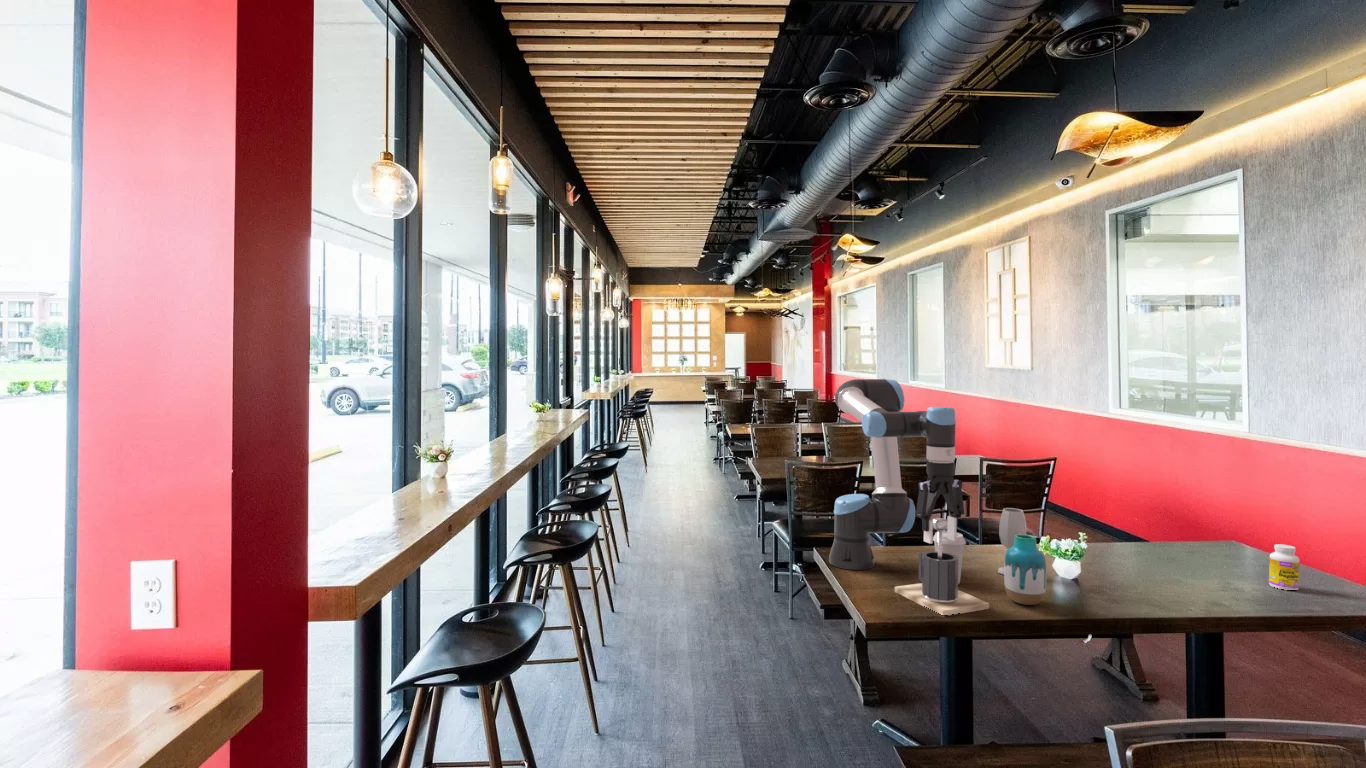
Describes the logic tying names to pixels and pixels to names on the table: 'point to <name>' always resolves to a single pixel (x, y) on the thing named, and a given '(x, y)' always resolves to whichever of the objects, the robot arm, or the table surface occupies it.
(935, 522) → the plunger
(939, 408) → the robot arm
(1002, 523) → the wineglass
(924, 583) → the fluted grey tumbler
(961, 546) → the coffee cup
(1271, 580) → the supplement bottle
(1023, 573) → the vase
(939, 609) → the serving board
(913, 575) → the table surface
